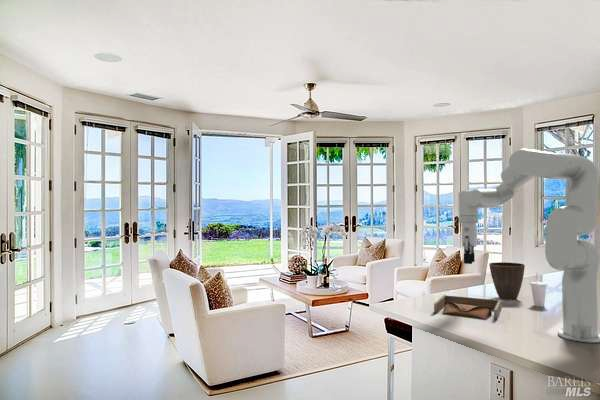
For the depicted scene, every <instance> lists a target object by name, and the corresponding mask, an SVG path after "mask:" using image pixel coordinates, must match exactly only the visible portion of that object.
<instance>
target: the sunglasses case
mask: <svg viewBox="0 0 600 400" xmlns="http://www.w3.org/2000/svg"><path fill="white" fill-rule="evenodd" d="M441 315H446V316H454V317H455V316H456V317H464V318H471V319H478V320H485V321H487V320H488V319H489V318H490V317H492V315H493V312H492V310H491V309H490V308H489V307H485V306H473V305H465V304H455V303H451V302H446V304H445V306H444V307H443V309H442V312H441Z"/></svg>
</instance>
